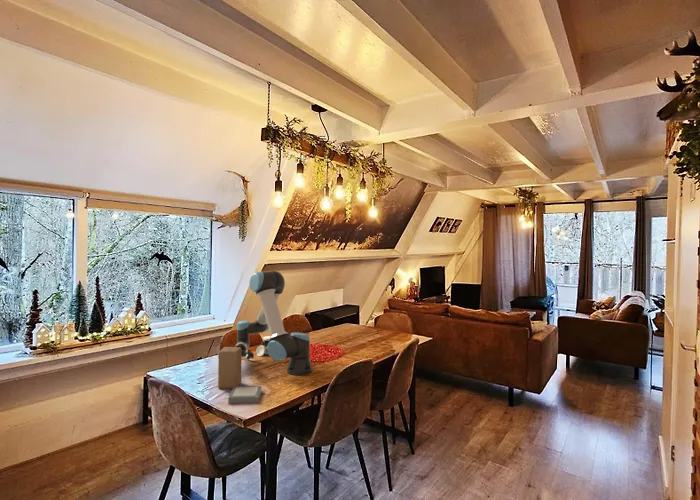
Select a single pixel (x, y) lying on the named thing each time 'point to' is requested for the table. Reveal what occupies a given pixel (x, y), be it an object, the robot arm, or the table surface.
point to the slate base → (245, 394)
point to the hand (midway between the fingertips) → (233, 360)
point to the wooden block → (229, 367)
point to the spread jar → (263, 347)
